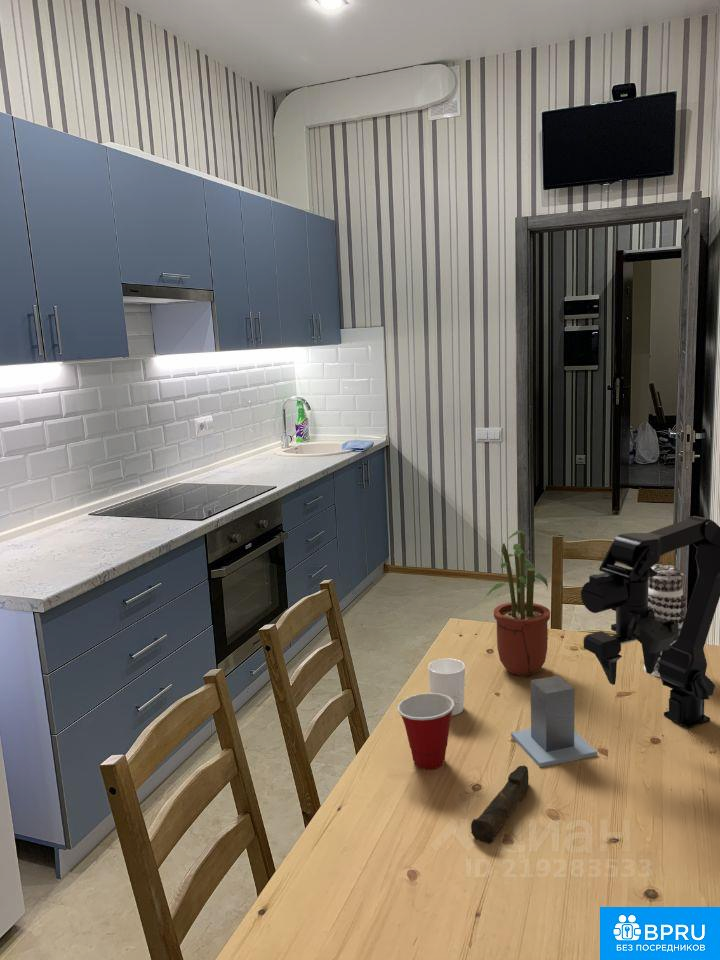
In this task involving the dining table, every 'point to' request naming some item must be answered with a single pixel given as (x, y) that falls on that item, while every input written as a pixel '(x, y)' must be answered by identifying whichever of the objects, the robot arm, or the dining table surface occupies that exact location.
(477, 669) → the dining table surface
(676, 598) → the decorative candle
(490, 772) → the dining table surface
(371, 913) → the dining table surface
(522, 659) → the potted plant
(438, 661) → the white cup
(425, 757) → the plastic cup
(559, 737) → the grey block
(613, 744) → the dining table surface
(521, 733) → the base block
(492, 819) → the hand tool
